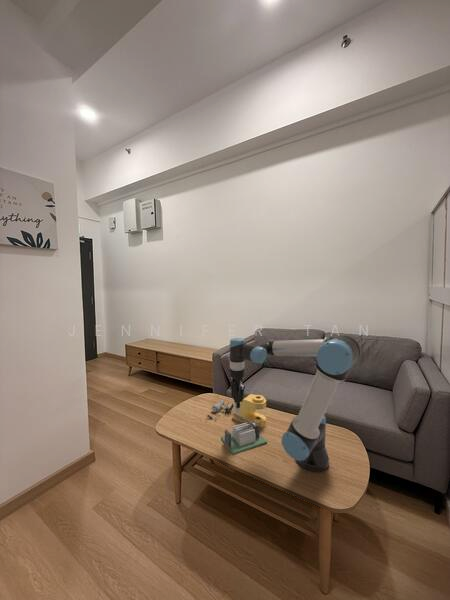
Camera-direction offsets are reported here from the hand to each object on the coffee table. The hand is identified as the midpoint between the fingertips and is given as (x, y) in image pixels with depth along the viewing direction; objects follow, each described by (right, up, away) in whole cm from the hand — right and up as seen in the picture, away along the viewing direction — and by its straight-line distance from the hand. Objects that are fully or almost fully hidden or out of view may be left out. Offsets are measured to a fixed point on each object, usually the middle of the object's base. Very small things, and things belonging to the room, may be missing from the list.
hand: (236, 412), depth 127 cm
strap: (+4, -5, +2) cm, 7 cm away
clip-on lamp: (-10, -15, +30) cm, 35 cm away
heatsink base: (+4, -16, +3) cm, 17 cm away
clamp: (+9, -15, +22) cm, 28 cm away
